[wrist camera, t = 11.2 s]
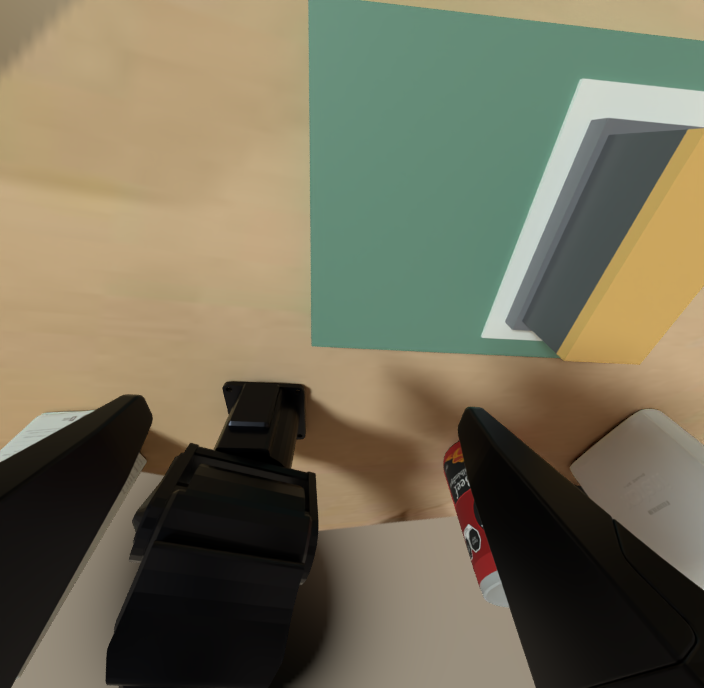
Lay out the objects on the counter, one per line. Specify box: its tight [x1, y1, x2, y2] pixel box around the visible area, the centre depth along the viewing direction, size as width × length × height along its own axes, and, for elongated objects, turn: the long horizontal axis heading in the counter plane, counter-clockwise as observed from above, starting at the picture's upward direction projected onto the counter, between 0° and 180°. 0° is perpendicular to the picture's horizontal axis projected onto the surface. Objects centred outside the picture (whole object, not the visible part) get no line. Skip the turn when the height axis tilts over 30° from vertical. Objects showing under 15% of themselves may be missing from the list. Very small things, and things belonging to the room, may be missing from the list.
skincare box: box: [0, 410, 147, 679], centre depth 21 cm, size 8×6×15 cm
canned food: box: [444, 441, 509, 607], centre depth 25 cm, size 8×8×11 cm
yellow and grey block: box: [522, 128, 704, 365], centre depth 13 cm, size 9×4×4 cm, turn 176°
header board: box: [308, 0, 704, 358], centre depth 14 cm, size 16×20×6 cm
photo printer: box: [570, 409, 704, 590], centre depth 23 cm, size 10×4×12 cm, turn 162°
